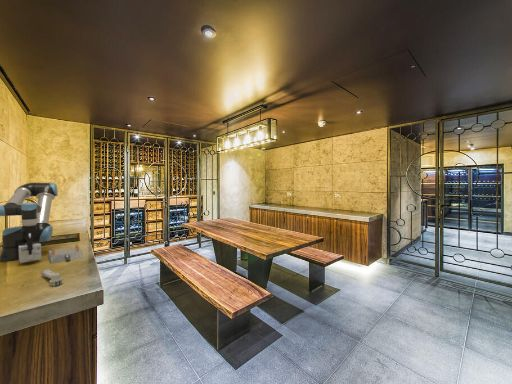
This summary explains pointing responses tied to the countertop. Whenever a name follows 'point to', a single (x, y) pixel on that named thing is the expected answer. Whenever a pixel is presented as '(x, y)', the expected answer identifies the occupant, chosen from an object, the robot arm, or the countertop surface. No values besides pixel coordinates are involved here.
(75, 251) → the orange-striped white panel
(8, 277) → the countertop surface
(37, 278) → the countertop surface
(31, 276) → the countertop surface
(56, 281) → the flashlight
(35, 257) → the light bulb box
